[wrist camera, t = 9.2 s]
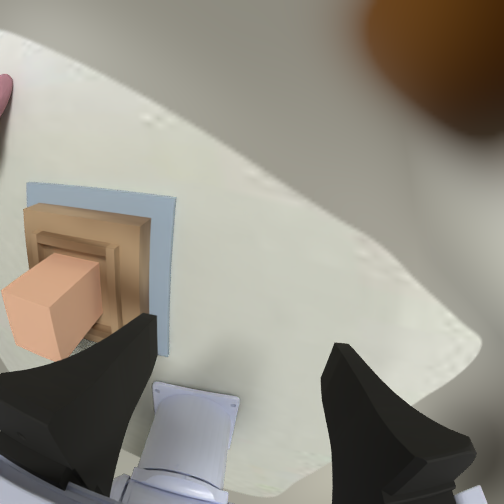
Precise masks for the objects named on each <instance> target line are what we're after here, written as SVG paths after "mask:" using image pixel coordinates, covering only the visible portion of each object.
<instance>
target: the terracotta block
mask: <svg viewBox="0 0 504 504" xmlns="http://www.w3.org/2000/svg"><path fill="white" fill-rule="evenodd" d="M1 292H2V296H3V300H4V304H5V308H6V312H7V316H8V320H9V323H10V326H11V330H12V333H13V336H14V339H15V343H16V345H18V346H20V347H22V348H24V349H26V350H29V351H31V352H33V353H35V354H38V355H40V356H43V357H45V358H47V359H50V360H52V361H55V362H56V361H59V360H62V359H65V358H68V357H69V356H70V354H71V353H72V352H73V350H74V349H75V348H76V346H77V345H78V344H79V343H80V341H81V340H82V339H83V337H84V336H85V335H86V334H87V332H88V331H89V330H90V329H91V327H92V326H93V325H94V324H95V322H96V321H97V320H98V319H99V317H100V316H101V315H102V314H103V308H102V297H101V285H100V269H99V262H94V261H89V260H85V259H80V258H75V257H71V256H66V255H62V254H57V253H53V254H52V255H50V256H49V257H47V258H46V259H44V260H43V261H41V262H40V263H38V264H37V265H35V266H34V267H33V268H31V269H30V270H28V271H27V272H26V273H24V274H23V275H21V276H20V277H19V278H17V279H16V280H14V281H13V282H12V283H10V284H9V285H8V286H6V287H5V288H4V289H2V290H1Z"/></svg>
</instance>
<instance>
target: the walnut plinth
mask: <svg viewBox="0 0 504 504" xmlns="http://www.w3.org/2000/svg"><path fill="white" fill-rule="evenodd" d="M23 211H24V226H25V238H26V247H27V255H28V263H29V270H30V269H31V268H33V267H34V266H35V265H37V264H38V263H40V262H41V261H43V260H44V259H46V258H47V257H49V256H50V255H52V254H53V253H57V254H62V255H66V256H71V257H75V258H80V259H85V260H89V261H94V262H99V269H100V285H101V297H102V308H103V314H102V315H101V316H100V317H99V319H98V320H97V321H96V322H95V324H94V325H93V326H92V327H91V329H90V330H89V331H88V332H87V334H86V335H85V336H84V337H83V338H84V339H87V340H90V341H94V342H97V343H98V342H100V341H101V340H103V339H105V338H106V337H108V336H110V335H111V334H113V333H114V332H116V331H117V330H119V329H120V328H122V327H123V326H124V325H126V324H127V323H129V322H130V321H132V320H133V319H134V318H136V317H137V316H139V315H140V314H142V313H147V314H149V262H150V233H151V218H148V217H141V216H134V215H127V214H120V213H113V212H106V211H98V210H91V209H84V208H76V207H69V206H61V205H53V204H46V203H37V204H35V205H32V206H30V207H27V208H25V209H23Z"/></svg>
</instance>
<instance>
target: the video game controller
mask: <svg viewBox="0 0 504 504" xmlns="http://www.w3.org/2000/svg"><path fill="white" fill-rule="evenodd" d="M12 87H13V81H12V78H11V77H10V76H9V75H8V74H2V75H0V117H1V115H2V113H3V111H4V110H5V108H6V106H7V103H8V101H9V99H10V95H11V92H12Z"/></svg>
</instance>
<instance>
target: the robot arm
mask: <svg viewBox="0 0 504 504" xmlns="http://www.w3.org/2000/svg"><path fill="white" fill-rule="evenodd" d="M157 355H158V341H157V315H152V314H147V313H142V314H140V315H139V316H137V317H136V318H134V319H133V320H132V321H130V322H129V323H127V324H126V325H124V326H123V327H122V328H120V329H119V330H117V331H116V332H114V333H113V334H111V335H110V336H108V337H106V338H105V339H103V340H101V341H100V342H98V343H96V344H95V345H93V346H91V347H89V348H87V349H85V350H83V351H81V352H79V353H77V354H75V355H73V356H70V357H68V358H65V359H62V360H59V361H56V362H54V363H51V364H48V365H44V366H40V367H36V368H32V369H27V370H21V371H14V372H6V373H1V374H0V430H1V431H0V504H234V503H230V502H228V492H227V491H223V486H224V477H225V469H226V460H227V452H228V450H229V449H230V444H231V440H232V435H233V431H234V426H235V421H236V417H237V412H238V407H239V403H240V399H239V398H238V397H237V396H231V395H225V394H219V393H213V392H207V391H201V390H196V389H191V388H186V387H181V386H176V385H172V384H167V383H163V382H159V381H155V382H154V383H153V385H152V388H153V399H154V410H155V417H154V420H153V423H152V426H151V429H150V431H149V434H148V437H147V440H146V443H145V446H144V449H143V452H142V455H141V458H140V461H139V464H138V467H134V470H133V473H132V476H131V479H130V476H129V475H126V474H122V475H121V476H118V477H116V478H115V479H114V480H113V477H114V473H115V469H116V464H117V461H118V457H119V453H120V449H121V446H122V442H123V439H124V436H125V433H126V430H127V426H128V423H129V421H130V418H131V416H132V413H133V411H134V409H135V407H136V405H137V403H138V401H139V399H140V397H141V394H142V392H143V390H144V388H145V386H146V384H147V382H148V380H149V378H150V376H151V373H152V370H153V367H154V365H155V361H156V358H157ZM321 394H322V402H323V408H324V413H325V418H326V423H327V428H328V433H329V438H330V444H331V452H332V473H333V476H332V477H333V490H332V491H333V492H332V504H487V502H486V499H485V497H484V494H483V492H482V489H481V486H480V485H478V486H475V487H473V488H470V489H467V490H465V491H462V492H460V493H458V494H456V495H453V492H452V490H453V489H455V487H456V485H455V482H454V480H455V479H456V478H457V477H458V476H459V475H460V474H461V473H463V472H464V470H466V469H467V468H468V467H469V466H470V465H471V463H472V462H473V461H474V459H475V458H476V451H475V449H474V447H473V444H472V442H471V440H470V438H469V437H468V436H465V435H463V434H460V433H458V432H455V431H453V430H450V429H448V428H446V427H444V426H442V425H440V424H438V423H437V422H435V421H433V420H431V419H430V418H428V417H426V416H425V415H423V414H422V413H420V412H419V411H417V410H416V409H414V408H413V407H412V406H410V405H409V404H408V403H406V402H405V401H404V400H403V399H401V398H400V397H399V396H398V395H397V394H396V393H394V392H393V391H392V390H391V389H390V388H389V387H388V386H387V385H386V384H385V383H384V382H383V381H382V380H381V379H380V378H379V377H378V376H377V375H376V374H375V373H374V372H373V371H372V369H371V368H370V367H369V366H368V365H367V364H366V363H365V362H364V360H363V359H362V358H361V357H360V356H359V355H358V354H357V352H356V351H355V350H354V349H353V348H352V347H351V346H350V345H349V344H345V343H334V346H333V348H332V351H331V354H330V356H329V359H328V361H327V364H326V366H325V369H324V371H323V374H322V376H321Z"/></svg>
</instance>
